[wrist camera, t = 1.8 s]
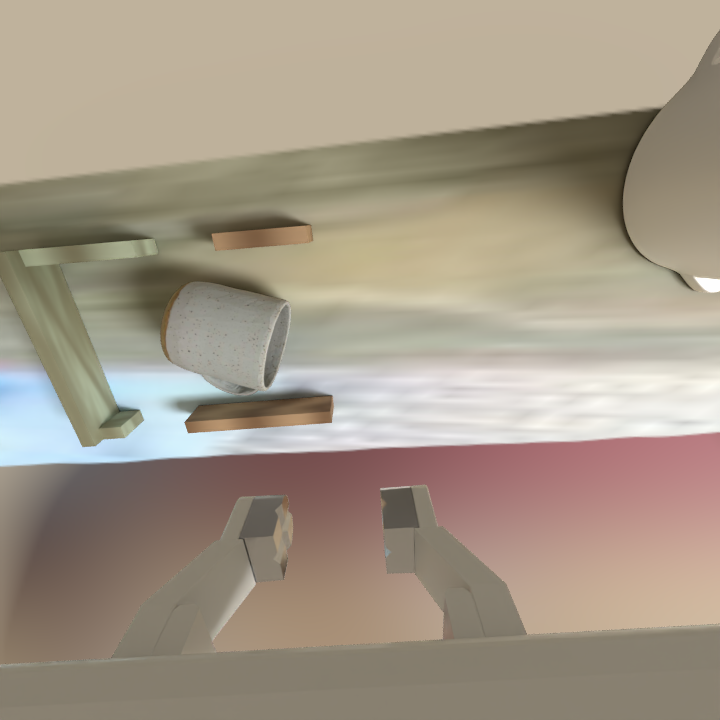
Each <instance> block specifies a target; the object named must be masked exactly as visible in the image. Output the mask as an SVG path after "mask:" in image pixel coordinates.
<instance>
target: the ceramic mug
mask: <svg viewBox="0 0 720 720" xmlns="http://www.w3.org/2000/svg"><path fill="white" fill-rule="evenodd" d="M290 320H291V306H290V304H289V302H288V301H286V300H283V299H279V298H274V297H270V296H266V295H262V294H258V293H254V292H250V291H245V290H240V289H235V288H231V287H227V286H224V285H220V284H216V283H210V282H199V281H196V282H189V283H187V284H185V285H183V286H181V287H180V288H179V289H178V290H177V291H176V292H175V293H174V294H173V296H172V297H171V298H170V300H169V302H168V304H167V307H166V309H165V311H164V315H163V318H162V323H161V331H160V335H161V345H162V349H163V352H164V354H165V356H166V357H167V358H168V360H169V361H171V362H172V363H173V364H175V365H177V366H179V367H181V368H184V369H186V370H189V371H192V372H195V373H198V374H202V376H203V377H204V379H205V380H206V381H208V382H209V383H210V384H212V385H213V386H215V387H216V388H218V389H220V390H222V391H225V392H228V393H231V394H235V395H251V394H254V393H255V392H257V391H258V390H260V391H266V390H268V389H269V388H270V387H271V385H272V383H273V381H274V379H275V377H276V374H277V372H278V370H279V367H280V364H281V361H282V358H283V354H284V351H285V346H286V342H287V338H288V334H289V327H290Z"/></svg>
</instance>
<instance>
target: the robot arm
mask: <svg viewBox="0 0 720 720" xmlns="http://www.w3.org/2000/svg"><path fill="white" fill-rule="evenodd" d="M623 213H624V220H625V225H626V228H627V231H628V234H629V236H630V238H631V240H632V242H633V244H634V245H635V247H636V248H637V249H638V250H639V252H640V253H641V254H642V255H644V256H645V257H646V258H647V259H649V260H650V261H652V262H654V263H656V264H658V265H660V266H663V267H666V268H669V269H671V270H674V271H676V272H678V273H679V274H680V275H681V276H682V277H683V279H684V280H685V281H686V283H687V284H688V285H689V286H690V287H691V288H692V289H693V290H695V291H697V292H705V293H714V292H718V291H720V31H719V32H718V33H717V34H716V36H715V38H714V39H713V40H712V42H711V44H710V45H709V47H708V49H707V50H706V52H705V54H704V56H703V58H702V59H701V61H700V63H699V65H698V67H697V69H696V71H695V73H694V74H693V76H692V77H691V78H690V79H689V81H688V82H687V83H686V84H685V85H684V86H683V87H682V89H680V91H679V92H678V93H677V94H676V95H675V96H674V97H673V98H672V99H671V100H670V101H669V102H668V103H667V104H666V105H665V106H664V107H663V108H662V110H661V111H660V112H659V113H658V115H657V116H656V117H655V119H654V120H653V121H652V123H651V124H650V126H649V127H648V129H647V130H646V132H645V133H644V135H643V137H642V139H641V140H640V142H639V144H638V146H637V148H636V150H635V153H634V155H633V158H632V160H631V163H630V166H629V169H628V172H627V176H626V181H625V186H624V194H623ZM380 495H381V509H382V522H383V535H384V546H385V558H386V568H387V573H415V575H416V576H417V577H418V579H419V580H420V581H421V583H422V584H423V585H424V587H425V588H426V589H427V591H428V592H429V594H430V595H431V596H432V597H433V599H434V600H435V602H436V603H437V604H438V606H439V607H440V608H441V610H442V611H443V612H444V622H443V640H425V641H410V642H409V641H408V642H391V643H374V644H357V645H340V646H322V647H304V648H286V649H268V650H250V651H234V652H233V651H232V652H216V649H215V647H214V645H213V642H212V641H213V639H214V638H215V637H216V636H217V634H218V633H219V632H220V630H221V629H222V628H223V626H224V625H225V624H226V623H227V621H228V620H229V619H230V617H231V616H232V615H233V613H234V612H235V611H236V610H237V608H238V607H239V606H240V604H241V603H242V602H243V600H244V599H245V598H246V596H247V595H248V594H249V592H250V591H251V590H252V589H253V587H254V586H255V584H256V583H255V582H265V581H275V580H284V576H285V572H286V567H287V562H288V556H287V551H286V550H287V549H288V548H289V547H290V546H291V542H292V537H293V520H292V515H291V514H290V513H289V512H288V507H289V501H288V497H287V496H286V495H270V496H256V497H240V498H239V499H238V500H237V502H236V504H235V507H234V509H233V511H232V514H231V516H230V518H229V521H228V523H227V525H226V527H225V530H224V532H223V534H222V537H221V539H220V540H219V541H214V542H213V543H212V544H211V545H210V546H209V547H208V548H206V549H205V550H204V551H203V552H202V553H201V554H199V555H198V556H197V557H196V558H195V559H194V560H193V561H192V562H190V563H189V564H188V565H187V566H186V567H184V568H183V569H182V570H181V571H180V572H179V573H178V574H176V575H175V576H174V577H173V578H172V579H171V580H170V581H168V582H167V583H166V584H165V585H164V586H163V587H161V588H160V589H159V590H158V591H157V592H156V593H155V594H153V595H152V596H151V597H150V598H149V599H148V600H147V601H145V602H144V603H143V604H142V605H141V606H140V608H139V610H138V612H137V613H136V615H135V617H134V619H133V620H132V622H131V624H130V626H129V628H128V629H127V631H126V633H125V635H124V636H123V638H122V640H121V642H120V643H119V645H118V647H117V649H116V650H115V652H114V654H113V656H112V657H111V658H108V659H91V660H73V661H56V662H37V663H19V664H2V665H0V720H720V624H708V625H691V626H673V627H657V628H637V629H621V630H602V631H584V632H567V633H550V634H531V635H527V633H526V631H525V628H524V626H523V623H522V621H521V619H520V616H519V614H518V611H517V609H516V606H515V604H514V602H513V599H512V597H511V594H510V592H509V589H508V587H507V585H506V583H505V582H504V581H502V580H501V579H500V578H499V577H498V576H497V575H496V574H495V573H494V572H493V571H491V570H490V569H489V568H488V567H487V566H486V565H485V564H484V563H483V562H481V561H480V560H479V559H478V558H477V557H476V556H475V555H474V554H473V553H472V552H471V551H469V550H468V549H467V548H466V547H465V546H464V545H463V544H462V543H460V542H459V541H458V540H457V539H456V538H455V537H454V536H453V535H452V534H451V533H449V531H447V530H446V529H445V528H444V527H443V526H439V527H438V524H437V521H436V517H435V513H434V509H433V506H432V502H431V499H430V495H429V491H428V487H427V486H426V485H417V486H411V487H410V486H406V487H394V488H381V489H380Z"/></svg>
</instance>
